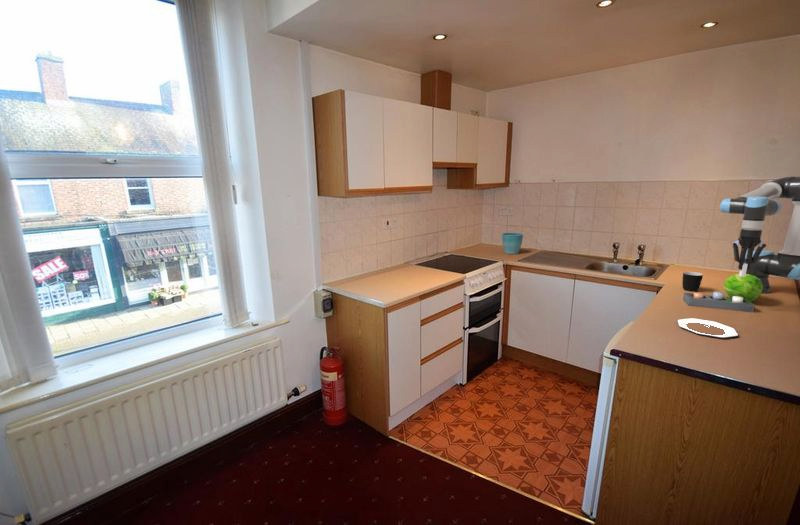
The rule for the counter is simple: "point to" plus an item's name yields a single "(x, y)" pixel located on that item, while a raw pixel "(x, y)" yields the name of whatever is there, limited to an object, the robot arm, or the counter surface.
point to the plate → (728, 330)
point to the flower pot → (512, 242)
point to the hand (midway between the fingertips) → (742, 276)
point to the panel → (718, 303)
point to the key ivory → (737, 298)
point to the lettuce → (743, 286)
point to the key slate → (718, 295)
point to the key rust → (698, 295)
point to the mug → (691, 281)
